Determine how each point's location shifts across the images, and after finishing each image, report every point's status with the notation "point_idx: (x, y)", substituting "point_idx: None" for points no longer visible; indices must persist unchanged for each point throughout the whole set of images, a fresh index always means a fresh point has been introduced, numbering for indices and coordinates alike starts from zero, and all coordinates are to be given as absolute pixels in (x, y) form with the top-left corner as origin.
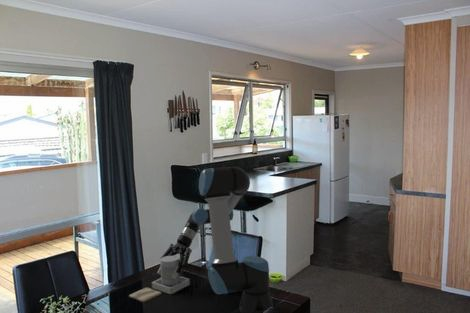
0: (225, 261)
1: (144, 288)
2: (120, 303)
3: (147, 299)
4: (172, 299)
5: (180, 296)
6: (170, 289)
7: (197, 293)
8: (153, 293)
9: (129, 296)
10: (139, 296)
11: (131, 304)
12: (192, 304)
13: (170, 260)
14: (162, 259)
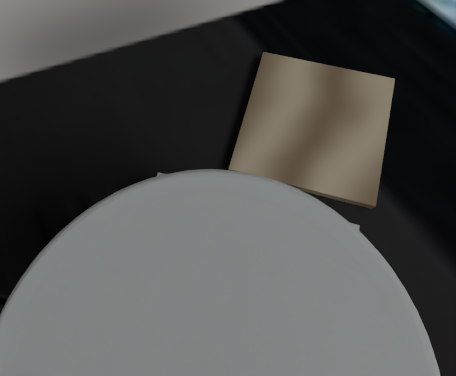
0: None
1: (373, 185)
2: (373, 18)
3: (257, 74)
4: (130, 133)
5: (99, 179)
6: (160, 174)
7: (7, 248)
8: (267, 141)
9: (386, 82)
10: (323, 85)
11: (312, 26)
12: (2, 117)
13: (119, 267)
14: (347, 279)
